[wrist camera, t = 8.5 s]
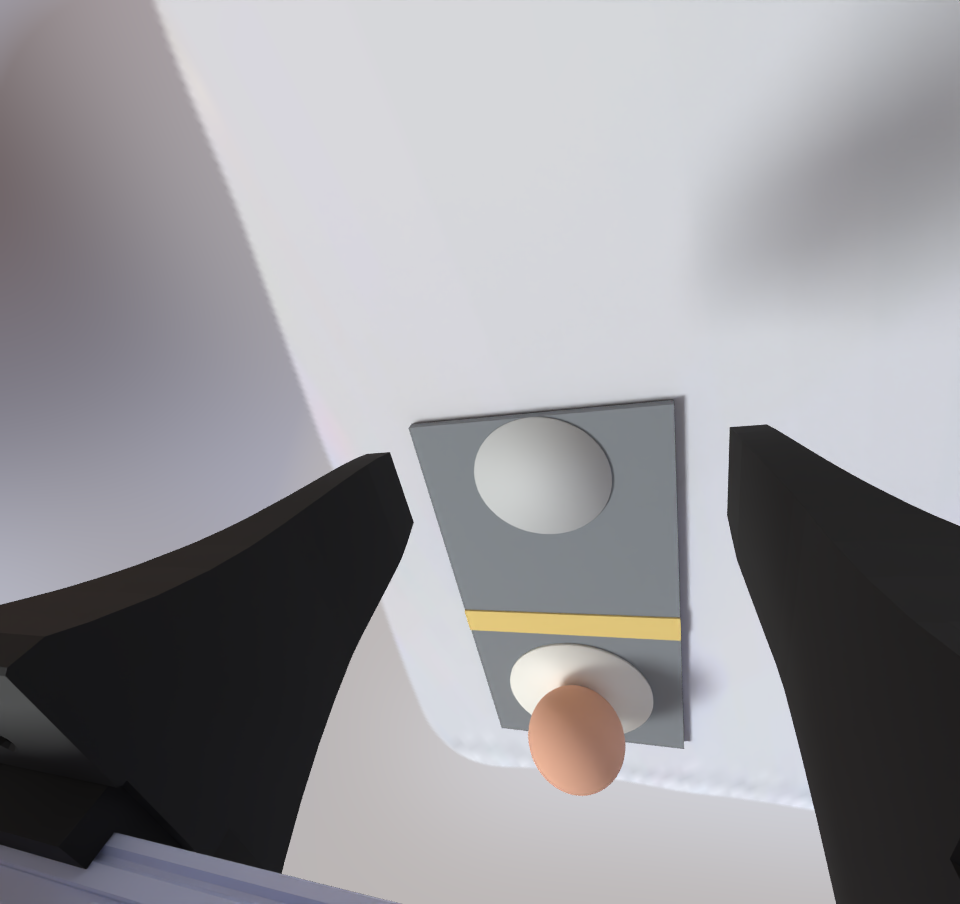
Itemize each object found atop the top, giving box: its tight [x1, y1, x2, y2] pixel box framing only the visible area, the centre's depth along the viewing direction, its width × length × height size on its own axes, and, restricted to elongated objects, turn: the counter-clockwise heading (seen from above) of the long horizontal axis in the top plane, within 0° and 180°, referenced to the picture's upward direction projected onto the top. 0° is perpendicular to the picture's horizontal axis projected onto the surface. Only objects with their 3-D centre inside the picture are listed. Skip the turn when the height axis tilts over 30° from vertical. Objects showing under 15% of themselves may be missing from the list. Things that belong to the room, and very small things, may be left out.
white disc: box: [510, 643, 653, 733], centre depth 28 cm, size 8×8×1 cm
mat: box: [409, 400, 684, 749], centre depth 25 cm, size 22×11×1 cm, turn 12°
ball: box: [528, 685, 625, 796], centre depth 26 cm, size 5×5×5 cm
